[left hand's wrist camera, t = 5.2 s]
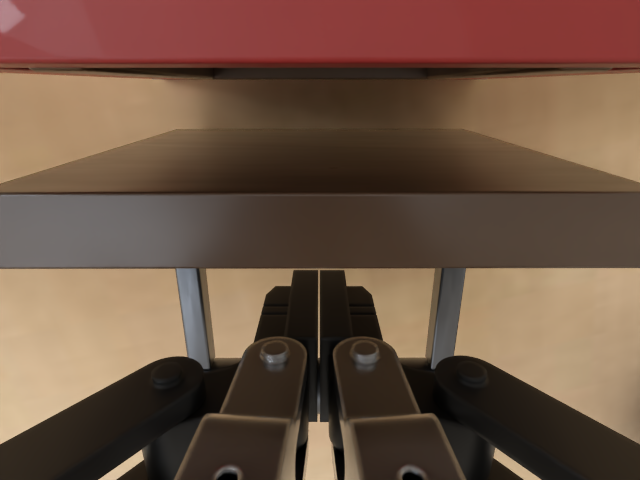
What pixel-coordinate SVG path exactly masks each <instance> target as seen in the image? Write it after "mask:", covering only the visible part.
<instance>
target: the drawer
mask: <svg viewBox="0 0 640 480" xmlns="http://www.w3.org/2000/svg"><path fill="white" fill-rule="evenodd" d="M29 69H31V70H33V71H36V72H54V73H74V74H94V75H114V76H135V77H155V78H175V79H195V80H444V79H463V78H484V77H504V76H524V75H545V74H565V73H585V72H605V71H608V70H610V69H612V68H29ZM172 268H175V269H176V277H177V284H178V291H179V298H180V305H181V313H182V320H183V327H184V334H185V341H186V349H187V356H188V357H189V358H192V359H194V360H196V361H198V362H199V363H200V364H201V365H202V367H203V371H204V372H208V371H213V370H217V369H222V368H225V367H228V366H231V365H234V364H236V363H238V362H239V361H241V359H242V358H215V350H214V340H213V331H212V322H211V313H210V304H209V295H208V286H207V277H206V268H435V274H434V283H433V292H432V301H431V311H430V320H429V329H428V338H427V347H426V358H398V359H399V361H400V363H401V364H403V365H405V366H408V367H411V368H415V369H419V370H423V371H428V372H433V373H435V368H436V365H437V364H438V362H440V361H441V360H442V359H444V358H447V357H451V356H454V350H455V342H456V335H457V328H458V321H459V314H460V307H461V299H462V292H463V285H464V278H465V271H466V268H640V183H639V182H636V181H632V180H629V179H626V178H622V177H619V176H616V175H612V174H609V173H606V172H603V171H599V170H596V169H593V168H589V167H586V166H583V165H579V164H576V163H573V162H569V161H566V160H563V159H560V158H556V157H553V156H550V155H546V154H543V153H540V152H536V151H533V150H530V149H527V148H523V147H520V146H517V145H513V144H510V143H507V142H503V141H500V140H497V139H494V138H490V137H487V136H484V135H480V134H477V133H474V132H470V131H467V130H464V129H176V130H173V131H170V132H167V133H163V134H160V135H157V136H154V137H151V138H147V139H144V140H141V141H138V142H134V143H131V144H128V145H125V146H121V147H118V148H115V149H112V150H108V151H105V152H102V153H99V154H95V155H92V156H89V157H86V158H82V159H79V160H76V161H73V162H69V163H66V164H63V165H60V166H56V167H53V168H50V169H47V170H43V171H40V172H37V173H34V174H30V175H27V176H24V177H21V178H17V179H14V180H11V181H8V182H4V183H1V184H0V269H172ZM317 414H320V358H318V391H317Z"/></svg>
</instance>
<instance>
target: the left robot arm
mask: <svg viewBox="0 0 640 480" xmlns="http://www.w3.org/2000/svg"><path fill="white" fill-rule="evenodd" d="M317 391H318V270H294V271H293V278H292V285H291V286H275V287H274V288H273V289H272V290H271V291H270V292H269V293H268V294H267V295H266V298H265V301H264V307H263V309H262V314H261V317H260V321H259V324H258V328H257V332H256V336H255V340H254V343H253V344H251V345H250V346H249V347H248V348H247V349H246V350H245V352H244V354H243V356H242V359H241V361H239V362H238V363H236V364H234V365H231V366H228V367H225V368H222V369H217V370H213V371H208V372H204V371H203V367H202V365H201V364H200V363H199V362H198V361H196V360H194V359H192V358H189V357H179V356H177V357H168V358H164V359H160V360H157V361H155V362H153V363H150V364H148V365H147V366H145V367H143V368H141V369H139V370H137V371H135V372H134V373H132V374H130V375H128V376H126V377H124V378H122V379H121V380H119V381H117V382H115V383H113V384H111V385H110V386H108V387H106V388H104V389H102V390H100V391H98V392H97V393H95V394H93V395H91V396H89V397H87V398H85V399H84V400H82V401H80V402H78V403H76V404H74V405H73V406H71V407H69V408H67V409H65V410H63V411H61V412H60V413H58V414H56V415H54V416H52V417H50V418H48V419H47V420H45V421H43V422H41V423H39V424H37V425H36V426H34V427H32V428H30V429H28V430H26V431H24V432H23V433H21V434H19V435H17V436H15V437H13V438H11V439H10V440H8V441H6V442H4V443H2V444H0V480H98V479H100V478H101V477H103V476H104V475H105V474H107V473H108V472H110V471H111V470H113V469H114V468H116V467H117V466H118V465H120V464H121V463H123V462H124V461H126V460H127V459H128V458H130V457H131V456H133V455H134V454H136V453H137V452H138V451H140V450H141V449H142V452H143V457H144V460H143V461H142V462H140V463H139V464H138V465H136V466H135V467H133V468H132V469H131V470H129V471H128V472H127V473H125V474H124V475H122V476H121V477H120V478H118V479H117V480H305V476H306V468H307V459H308V423H309V422H317ZM320 422H329V437H330V440H331V442H332V459H333V468H334V476H335V480H523V479H522V478H520V477H519V476H518V475H516V474H515V473H513V472H512V471H511V470H509V469H508V468H507V467H505V466H504V465H502V464H501V463H500V462H498V461H497V460H495V459H494V458H493V456H494V451H495V447H496V448H497V449H499V450H500V451H501V452H503V453H504V454H506V455H507V456H509V457H510V458H512V459H513V460H514V461H516V462H517V463H519V464H520V465H522V466H523V467H524V468H526V469H527V470H529V471H530V472H532V473H533V474H534V475H536V476H537V477H539V478H540V479H542V480H640V444H638V443H636V442H634V441H632V440H630V439H629V438H627V437H625V436H623V435H621V434H619V433H617V432H616V431H614V430H612V429H610V428H608V427H606V426H604V425H603V424H601V423H599V422H597V421H595V420H593V419H592V418H590V417H588V416H586V415H584V414H582V413H580V412H579V411H577V410H575V409H573V408H571V407H569V406H567V405H566V404H564V403H562V402H560V401H558V400H556V399H555V398H553V397H551V396H549V395H547V394H545V393H543V392H542V391H540V390H538V389H536V388H534V387H532V386H530V385H529V384H527V383H525V382H523V381H521V380H519V379H518V378H516V377H514V376H512V375H510V374H508V373H506V372H505V371H503V370H501V369H499V368H497V367H495V366H493V365H492V364H490V363H488V362H486V361H483V360H481V359H478V358H474V357H469V356H451V357H447V358H444V359H442V360H441V361H440V362H438V364H437V365H436V368H435V373H433V372H428V371H423V370H419V369H415V368H411V367H408V366H405V365H403V364H401V363H400V361H399V359H398V356H397V354H396V352H395V350H394V349H393V348H392V347H391V346H390V345H389V344H387V343H386V342H384V341H383V339H382V335H381V331H380V327H379V323H378V319H377V315H376V311H375V307H374V303H373V299H372V295H371V294H370V293H369V292H368V291H367V290H366V289H365V288H364V287H362V286H346V279H345V272H344V270H320Z"/></svg>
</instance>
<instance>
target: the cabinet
mask: <svg viewBox="0 0 640 480" xmlns="http://www.w3.org/2000/svg"><path fill="white" fill-rule="evenodd" d="M29 68H612V69H610V70H608V71H605V72H585V73H565V74H545V75H524V76H504V77H484V78H463V79H493V78H517V77H541V76H566V75H590V74H615V73H639V72H640V0H0V73H24V74H48V75H73V76H97V77H121V78H146V79H161V80H165V79H175V78H155V77H135V76H114V75H94V74H74V73H54V72H36V71H33V70H31V69H29Z"/></svg>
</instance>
